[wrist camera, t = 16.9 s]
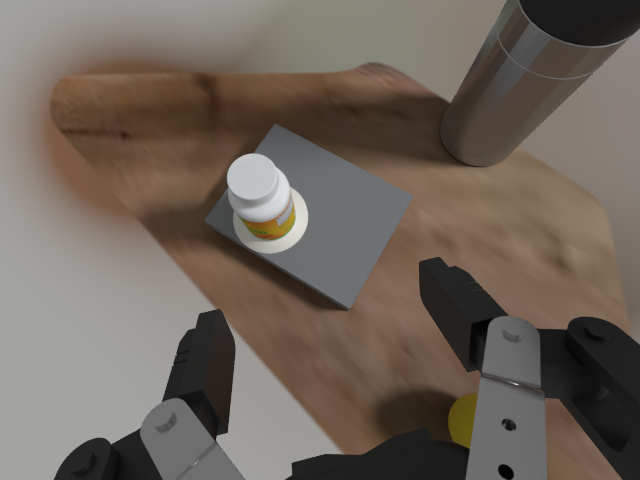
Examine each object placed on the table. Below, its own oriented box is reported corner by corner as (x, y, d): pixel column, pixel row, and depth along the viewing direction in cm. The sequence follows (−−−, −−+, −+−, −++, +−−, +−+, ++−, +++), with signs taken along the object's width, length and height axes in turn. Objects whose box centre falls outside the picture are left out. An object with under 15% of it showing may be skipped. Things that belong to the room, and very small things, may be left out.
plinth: (278, 138, 41) (274, 122, 38) (407, 206, 38) (414, 195, 35) (213, 229, 38) (203, 220, 35) (347, 310, 35) (349, 308, 32)
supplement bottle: (236, 226, 35) (202, 186, 25) (264, 186, 36) (243, 134, 26) (278, 251, 34) (260, 220, 24) (306, 209, 35) (299, 165, 26)
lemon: (434, 442, 32) (469, 478, 24) (439, 382, 33) (474, 396, 25) (492, 455, 31) (546, 496, 23) (495, 393, 33) (547, 412, 25)
